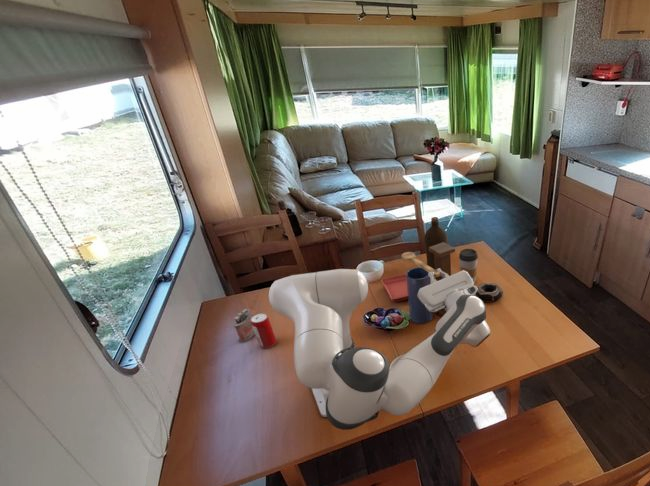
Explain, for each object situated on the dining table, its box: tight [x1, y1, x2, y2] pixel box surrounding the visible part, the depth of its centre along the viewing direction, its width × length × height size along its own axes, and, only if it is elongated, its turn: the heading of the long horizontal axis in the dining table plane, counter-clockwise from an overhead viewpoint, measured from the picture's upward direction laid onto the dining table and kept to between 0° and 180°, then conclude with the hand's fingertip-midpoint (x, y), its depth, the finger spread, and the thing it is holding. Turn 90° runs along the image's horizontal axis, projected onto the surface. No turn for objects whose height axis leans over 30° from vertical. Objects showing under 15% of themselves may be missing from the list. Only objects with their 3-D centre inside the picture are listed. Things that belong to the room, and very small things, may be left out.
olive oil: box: [423, 216, 448, 270], centre depth 179 cm, size 11×11×25 cm
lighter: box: [232, 308, 256, 343], centre depth 139 cm, size 8×3×10 cm, turn 168°
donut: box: [475, 282, 504, 303], centre depth 163 cm, size 12×12×4 cm
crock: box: [405, 266, 434, 325], centre depth 146 cm, size 9×9×20 cm
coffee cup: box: [458, 248, 479, 284], centre depth 170 cm, size 8×8×15 cm
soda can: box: [251, 313, 277, 349], centre depth 134 cm, size 6×6×12 cm
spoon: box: [401, 251, 440, 278], centre depth 137 cm, size 21×5×1 cm, turn 41°
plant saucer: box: [381, 273, 408, 303], centre depth 167 cm, size 18×18×3 cm
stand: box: [429, 242, 456, 318], centre depth 148 cm, size 8×8×28 cm
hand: (433, 271), depth 131 cm, fingers closed on spoon
